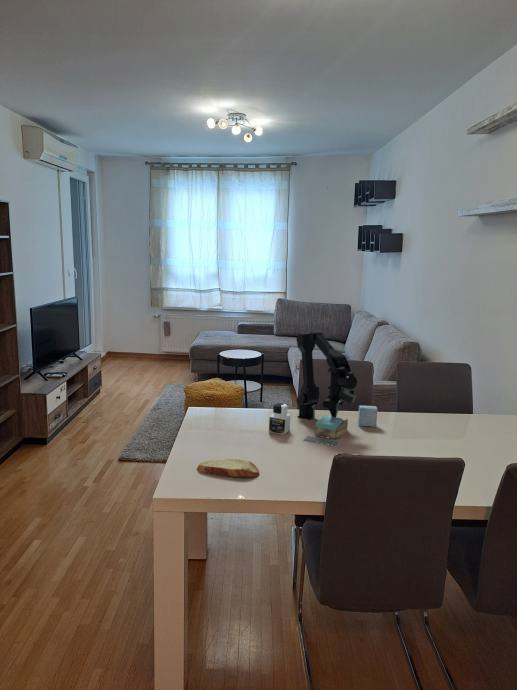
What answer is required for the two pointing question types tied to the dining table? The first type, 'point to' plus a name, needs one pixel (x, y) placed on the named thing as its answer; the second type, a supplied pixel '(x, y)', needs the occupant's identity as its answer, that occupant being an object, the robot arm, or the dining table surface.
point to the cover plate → (329, 422)
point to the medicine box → (367, 416)
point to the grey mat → (322, 441)
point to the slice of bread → (229, 468)
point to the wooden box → (332, 431)
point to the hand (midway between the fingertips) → (334, 418)
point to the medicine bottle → (279, 419)
